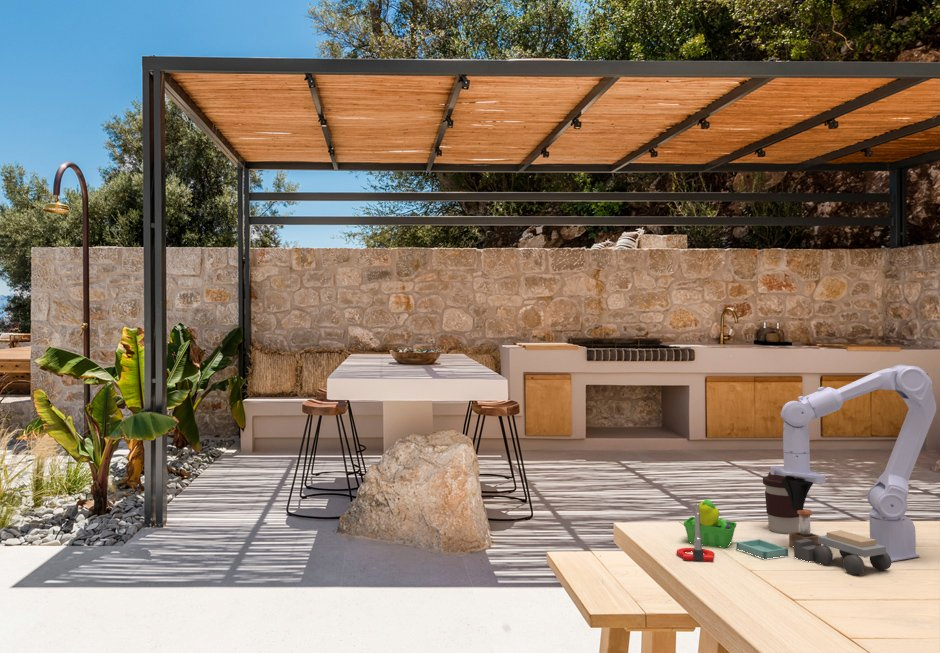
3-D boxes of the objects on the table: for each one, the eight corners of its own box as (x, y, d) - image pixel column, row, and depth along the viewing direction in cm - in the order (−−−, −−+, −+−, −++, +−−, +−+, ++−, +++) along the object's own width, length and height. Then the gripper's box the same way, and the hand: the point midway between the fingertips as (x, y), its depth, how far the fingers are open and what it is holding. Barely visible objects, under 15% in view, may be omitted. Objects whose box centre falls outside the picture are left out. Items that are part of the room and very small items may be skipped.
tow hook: (674, 551, 180) (679, 561, 171) (674, 497, 181) (678, 503, 171) (711, 553, 178) (718, 563, 169) (710, 498, 179) (717, 504, 170)
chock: (807, 556, 174) (806, 538, 174) (821, 560, 171) (821, 543, 171) (794, 558, 173) (794, 540, 173) (808, 563, 169) (808, 545, 169)
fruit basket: (737, 542, 186) (737, 496, 186) (729, 551, 178) (728, 503, 178) (691, 536, 192) (690, 492, 192) (681, 544, 184) (680, 498, 184)
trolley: (812, 561, 169) (812, 531, 169) (844, 556, 173) (843, 527, 173) (859, 577, 158) (858, 545, 158) (891, 571, 162) (890, 540, 162)
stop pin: (804, 544, 183) (804, 508, 183) (815, 548, 180) (814, 511, 180) (794, 546, 182) (794, 509, 182) (805, 549, 179) (804, 512, 179)
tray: (759, 546, 182) (759, 539, 182) (788, 556, 174) (788, 548, 174) (736, 549, 179) (736, 542, 179) (764, 560, 171) (764, 552, 171)
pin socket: (804, 543, 184) (804, 531, 184) (821, 548, 180) (821, 536, 180) (789, 545, 182) (788, 533, 182) (805, 551, 178) (805, 538, 178)
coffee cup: (756, 526, 201) (755, 470, 201) (791, 525, 202) (790, 469, 203) (775, 536, 191) (774, 476, 192) (812, 534, 192) (811, 475, 193)
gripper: (760, 449, 184) (761, 505, 184) (808, 457, 171) (810, 517, 171) (782, 447, 187) (783, 502, 187) (831, 455, 174) (832, 514, 173)
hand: (797, 509), depth 179 cm, fingers closed
